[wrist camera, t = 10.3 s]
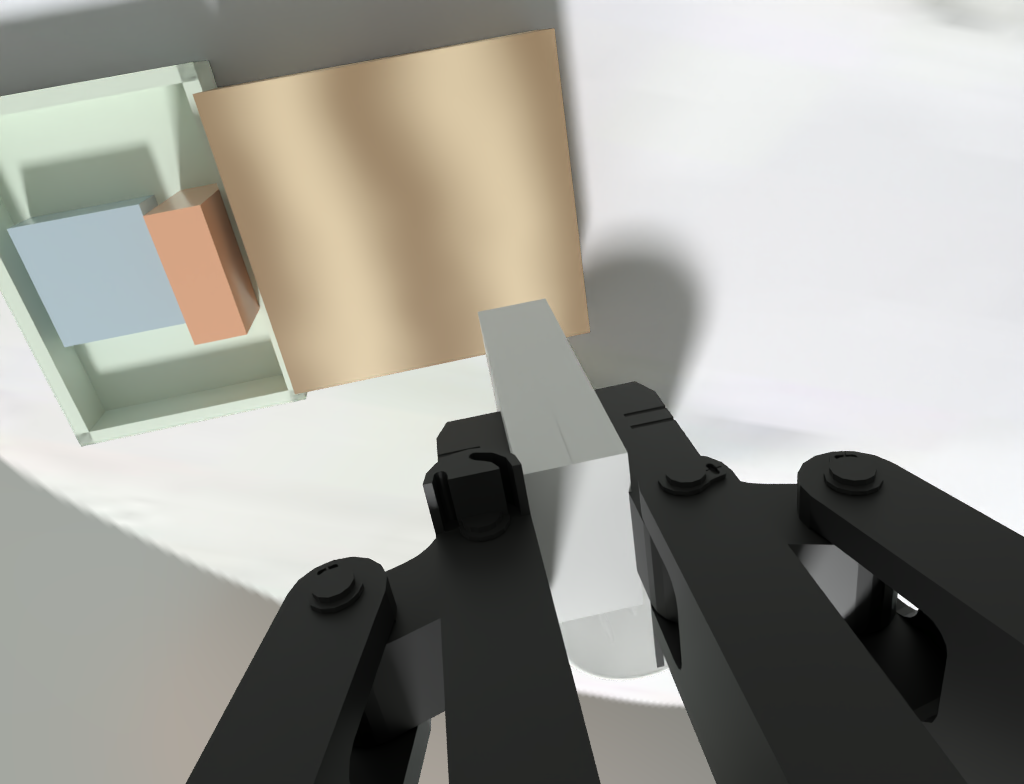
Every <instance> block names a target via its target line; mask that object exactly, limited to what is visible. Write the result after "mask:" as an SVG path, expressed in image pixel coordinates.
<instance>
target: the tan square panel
mask: <svg viewBox="0 0 1024 784" xmlns="http://www.w3.org/2000/svg"><path fill="white" fill-rule="evenodd" d="M193 97H194V100H195V103H196V106H197V109H198V112H199V115H200V118H201V121H202V124H203V127H204V130H205V132H206V135H207V138H208V141H209V144H210V147H211V150H212V153H213V156H214V159H215V162H216V165H217V168H218V171H219V173H220V176H221V179H222V182H223V185H224V188H225V191H226V194H227V197H228V200H229V203H230V206H231V209H232V212H233V214H234V217H235V220H236V223H237V226H238V229H239V232H240V235H241V238H242V241H243V244H244V247H245V250H246V253H247V255H248V258H249V261H250V264H251V267H252V270H253V273H254V276H255V279H256V282H257V285H258V288H259V291H260V294H261V296H262V299H263V302H264V305H265V308H266V311H267V314H268V317H269V320H270V323H271V326H272V329H273V332H274V335H275V337H276V340H277V343H278V346H279V349H280V352H281V355H282V358H283V361H284V364H285V367H286V370H287V373H288V376H289V378H290V381H291V384H292V387H293V390H294V393H295V394H299V393H304V392H309V391H314V390H318V389H323V388H328V387H333V386H337V385H342V384H347V383H352V382H356V381H361V380H366V379H371V378H375V377H380V376H385V375H390V374H394V373H399V372H404V371H409V370H413V369H418V368H423V367H428V366H433V365H437V364H442V363H447V362H452V361H456V360H461V359H466V358H471V357H475V356H480V355H485V354H486V352H485V347H484V342H483V336H482V331H481V326H480V321H479V316H478V312H480V311H485V310H490V309H495V308H500V307H505V306H510V305H515V304H520V303H525V302H530V301H535V300H540V299H546V301H547V302H548V304H549V306H550V308H551V310H552V312H553V314H554V316H555V317H556V319H557V321H558V323H559V325H560V327H561V329H562V331H563V332H564V334H565V336H566V337H570V336H575V335H580V334H585V333H589V332H590V327H589V318H588V310H587V301H586V293H585V284H584V276H583V267H582V259H581V250H580V241H579V233H578V224H577V216H576V207H575V199H574V190H573V182H572V173H571V165H570V156H569V148H568V139H567V131H566V122H565V114H564V105H563V97H562V88H561V80H560V71H559V63H558V54H557V46H556V37H555V29H554V28H552V29H542V30H533V31H528V32H522V33H517V34H511V35H506V36H500V37H495V38H489V39H484V40H478V41H472V42H467V43H461V44H456V45H450V46H445V47H439V48H434V49H428V50H423V51H417V52H412V53H406V54H401V55H395V56H390V57H384V58H379V59H373V60H368V61H362V62H357V63H351V64H346V65H340V66H335V67H329V68H324V69H318V70H313V71H307V72H302V73H296V74H291V75H285V76H280V77H274V78H269V79H263V80H258V81H252V82H247V83H241V84H236V85H230V86H225V87H219V88H215V89H211V90H207V91H203V92H199V93H195V94H193Z"/></svg>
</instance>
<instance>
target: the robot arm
mask: <svg viewBox="0 0 1024 784" xmlns="http://www.w3.org/2000/svg"><path fill="white" fill-rule="evenodd" d="M478 316H479V321H480V326H481V331H482V336H483V342H484V347H485V352H486V357H487V362H488V367H489V372H490V377H491V382H492V387H493V392H494V397H495V403H496V408H497V412H494V413H489V414H485V415H480V416H475V417H470V418H465V419H460V420H455V421H451V422H447V423H446V424H445V426H444V428H443V429H442V431H441V432H440V434H439V436H438V437H437V454H438V462H437V463H436V464H435V465H434V466H433V467H432V468H431V469H430V470H429V471H428V472H427V473H426V476H425V479H424V482H423V488H424V492H425V495H426V499H427V503H428V507H429V510H430V514H431V518H432V522H433V525H434V529H435V533H436V539H435V540H434V541H433V542H432V544H431V545H430V546H429V547H428V548H427V549H426V550H424V551H423V552H422V553H421V554H419V555H418V556H417V557H415V558H413V559H411V560H409V561H407V562H406V563H404V564H402V565H399V566H397V567H395V568H393V569H390V570H388V571H386V572H385V571H384V569H383V567H382V566H381V565H380V564H379V563H377V562H375V561H373V560H371V559H369V558H360V557H348V558H343V559H337V560H333V561H330V562H328V563H326V564H323V565H321V566H319V567H317V568H314V569H313V570H312V571H310V572H309V573H308V574H306V575H305V576H304V577H302V578H301V579H299V580H298V582H297V583H296V584H295V585H294V587H293V588H292V589H291V590H290V592H289V593H288V594H287V596H286V598H285V600H284V602H283V604H282V605H281V607H280V609H279V611H278V613H277V615H276V617H275V618H274V620H273V622H272V624H271V626H270V628H269V630H268V632H267V633H266V635H265V637H264V639H263V641H262V643H261V645H260V647H259V648H258V650H257V652H256V654H255V656H254V658H253V659H252V661H251V663H250V665H249V667H248V669H247V671H246V672H245V675H244V676H243V678H242V680H241V682H240V684H239V686H238V687H237V689H236V691H235V693H234V695H233V697H232V699H231V700H230V702H229V704H228V706H227V708H226V710H225V711H224V713H223V715H222V717H221V719H220V721H219V723H218V725H217V726H216V728H215V730H214V732H213V734H212V736H211V738H210V740H209V741H208V743H207V745H206V747H205V749H204V751H203V752H202V754H201V756H200V758H199V760H198V762H197V764H196V766H195V767H194V769H193V771H192V773H191V775H190V777H189V778H188V780H187V782H186V784H418V782H419V777H420V773H421V769H422V765H423V760H424V756H425V752H426V748H427V743H428V739H429V735H430V731H431V718H432V717H434V716H436V715H438V714H440V713H442V712H444V711H445V716H446V733H447V754H448V773H449V784H600V780H599V776H598V772H597V768H596V764H595V761H594V756H593V753H592V749H591V745H590V741H589V737H588V733H587V729H586V726H585V722H584V718H583V714H582V710H581V706H580V703H579V699H578V695H577V691H576V687H575V683H574V679H573V675H572V671H571V668H570V664H569V660H568V656H567V652H566V648H565V644H564V641H563V637H562V633H561V629H560V625H559V622H564V621H569V620H573V619H578V618H582V617H587V616H591V615H596V614H601V613H605V612H610V611H614V610H619V609H624V608H628V607H633V606H637V605H642V604H643V596H642V586H641V581H642V584H643V586H644V588H645V591H646V593H647V595H648V598H649V600H650V605H651V615H652V626H653V636H654V646H655V656H656V663H657V668H658V667H663V666H664V657H665V659H666V662H667V664H668V667H669V669H670V672H671V674H672V677H673V679H674V681H675V684H676V686H677V689H678V691H679V694H680V696H681V698H682V701H683V703H684V706H685V708H686V710H687V713H688V716H689V718H690V720H691V723H692V725H693V727H694V730H695V732H696V735H697V737H698V740H699V742H700V745H701V747H702V750H703V752H704V754H705V757H706V759H707V762H708V764H709V767H710V769H711V772H712V774H713V776H714V779H715V781H716V784H1024V537H1023V536H1021V535H1020V534H1018V533H1016V532H1014V531H1013V530H1011V529H1009V528H1007V527H1006V526H1004V525H1002V524H1000V523H998V522H997V521H995V520H993V519H991V518H990V517H988V516H986V515H984V514H983V513H981V512H979V511H977V510H975V509H974V508H972V507H970V506H968V505H967V504H965V503H963V502H961V501H960V500H958V499H956V498H954V497H952V496H951V495H949V494H947V493H945V492H944V491H942V490H940V489H938V488H937V487H935V486H933V485H931V484H929V483H928V482H926V481H924V480H922V479H921V478H919V477H917V476H915V475H914V474H912V473H910V472H908V471H906V470H905V469H903V468H901V467H899V466H898V465H896V464H894V463H892V462H890V461H887V460H885V459H882V458H880V457H878V456H875V455H871V454H865V453H860V452H855V451H839V452H829V453H825V454H821V455H817V456H814V457H813V458H811V459H809V460H808V461H806V462H805V463H803V464H802V466H801V468H800V470H799V472H798V475H797V484H756V483H746V482H741V481H740V480H739V479H738V478H737V476H736V475H735V474H734V472H733V471H732V470H731V469H729V468H728V467H727V466H726V465H725V464H723V463H722V462H720V461H717V460H715V459H712V458H709V457H706V456H700V454H699V453H698V452H697V450H696V449H695V447H694V446H693V445H692V443H691V442H690V440H689V439H688V437H687V436H686V435H685V433H684V432H683V430H682V429H681V428H680V426H679V425H678V423H677V422H676V420H674V419H673V416H672V415H671V413H670V412H669V411H668V409H667V408H665V405H664V404H663V402H662V401H661V399H660V398H659V396H658V395H657V394H656V392H655V391H653V390H651V389H649V388H647V387H645V386H643V385H641V384H639V383H637V382H631V383H626V384H621V385H616V386H611V387H606V388H601V389H596V390H594V389H593V387H592V385H591V383H590V381H589V379H588V378H587V376H586V374H585V372H584V370H583V368H582V366H581V364H580V362H579V361H578V359H577V357H576V355H575V353H574V351H573V349H572V347H571V346H570V344H569V342H568V340H567V338H566V336H565V334H564V332H563V331H562V329H561V327H560V325H559V323H558V321H557V319H556V317H555V316H554V314H553V312H552V310H551V308H550V306H549V304H548V302H547V301H546V299H540V300H535V301H530V302H525V303H520V304H515V305H510V306H505V307H500V308H495V309H490V310H485V311H480V312H478ZM898 593H899V594H900V595H901V596H903V597H904V598H905V599H907V600H908V601H909V602H911V603H912V604H913V605H915V606H916V607H917V608H919V609H918V611H917V610H914V609H912V608H911V607H909V606H907V605H906V604H905V603H903V602H902V601H901V600H899V599H898V598H897V595H898Z"/></svg>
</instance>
